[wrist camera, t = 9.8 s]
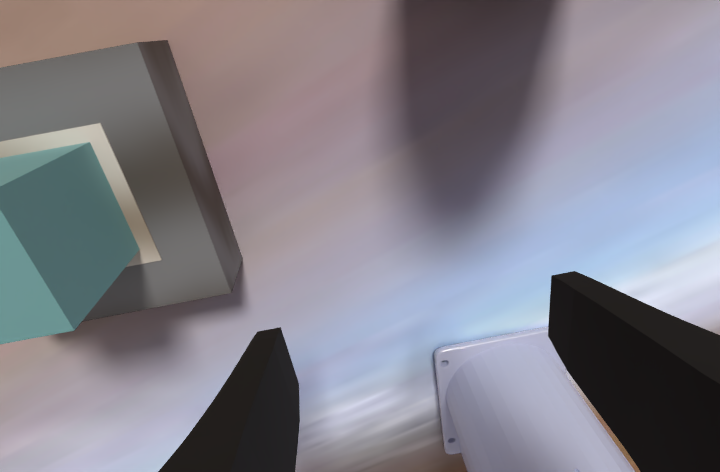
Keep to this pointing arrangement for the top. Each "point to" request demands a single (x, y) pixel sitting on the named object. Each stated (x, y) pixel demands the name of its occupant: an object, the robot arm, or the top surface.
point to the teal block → (57, 240)
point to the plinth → (132, 164)
